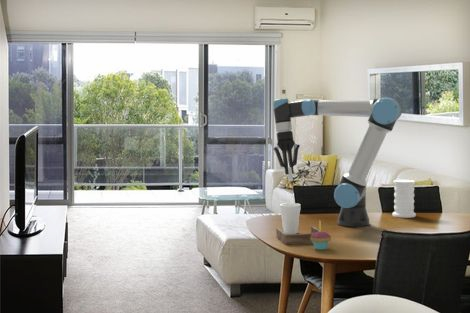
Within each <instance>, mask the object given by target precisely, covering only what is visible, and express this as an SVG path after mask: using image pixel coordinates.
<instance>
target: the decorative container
mask: <svg viewBox="0 0 470 313" xmlns="http://www.w3.org/2000/svg"><path fill="white" fill-rule="evenodd" d="M415 184H416V180H413V179H394V180H393V185H394V187H393V188H394V189H393V190H394V193H393V196H394V200H393V203H394V205H393V208H394V211H393V212H392V217H395V218H403V219H405V218H406V219H408V218H409V219H410V218H415V217H416V216H417V214H416V212H415V211H414V210H415V205H414V203H415V199H414V198H415V187H414V186H415Z"/></svg>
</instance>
